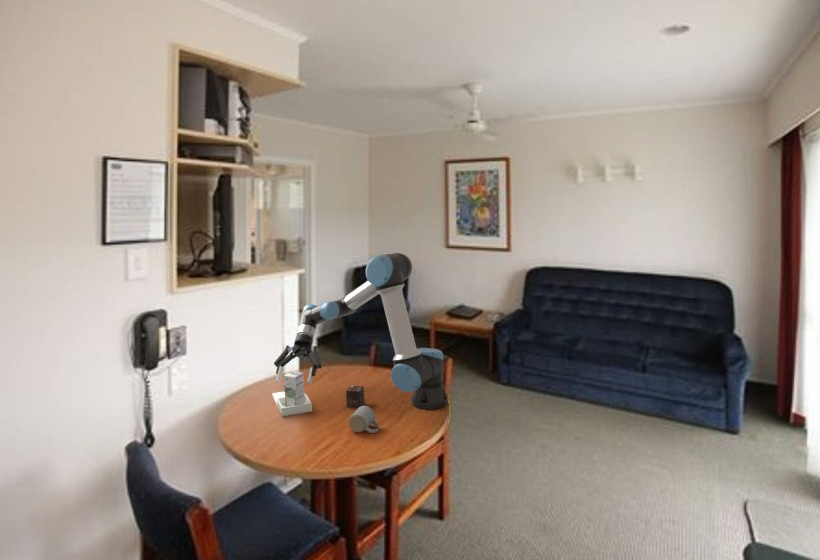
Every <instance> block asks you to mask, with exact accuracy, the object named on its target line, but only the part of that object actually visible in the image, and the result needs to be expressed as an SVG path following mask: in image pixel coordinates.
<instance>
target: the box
mask: <svg viewBox="0 0 820 560" xmlns="http://www.w3.org/2000/svg"><path fill="white" fill-rule="evenodd" d="M364 387H365V386H362V385H350V386H348V387H347V389H346V392H345V396H346V397H345V398H346V408H351V409H352V408H353V409H354V408H355V409H358V408H359V407H361V406H364V404H365V390H364V389H365V388H364Z"/></svg>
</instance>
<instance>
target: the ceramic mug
mask: <svg viewBox="0 0 820 560" xmlns="http://www.w3.org/2000/svg"><path fill="white" fill-rule="evenodd" d="M375 414H376V413H375V411H373V409H372V408H371V407H369V406H367V405H362V406H361V407H359V408H356V410H355V411H354V412H353V413H352V414H351V415H350V418H349V419H348V425H349V428H350V429H351V430H352V431H353V432H355V433H359V434H360V433H363V432H364V431H367V432H368V433H371V434H372V433H373V434H374V433H377V432H379V429H380V425H379V423H378V422H377V420H376V415H375ZM372 425H374V426H375V427H376V428H375V429H373V428H370V426H372Z"/></svg>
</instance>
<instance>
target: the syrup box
mask: <svg viewBox="0 0 820 560" xmlns="http://www.w3.org/2000/svg"><path fill="white" fill-rule="evenodd" d="M283 382H284V383H283V384H284V386H283V387H284V391H285V404H286V407H290V406H296V405H302V404H305V403H304V394H305V388H304V373H303V372H300V371H299V372H298V371H290V372H288V373H285V374H284V375H283Z"/></svg>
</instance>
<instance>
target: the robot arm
mask: <svg viewBox="0 0 820 560" xmlns="http://www.w3.org/2000/svg"><path fill="white" fill-rule="evenodd" d="M412 272H413V264H412V260H411V259H410V258H409V256H407V255H405V254H404V253H400V252H395V253H394V252H393V253H386V254H379V255H377V256H374V257H372V258H371V259H370V260H369V261H368V263H367V265H366V267H365V277H366V281H365V282H364V283H362V284H360V285H359V286H358V287H356V288H355V289H353V290H352V291H351V292H349V293H348V294H347V295H345V296H344V297H342V298H341V299H339V300H338V299H337V300H334V301H330V300H329V301H326V302H323V303H322V304H320V305H316V304H306V305H305V306H304V307H303V310H302V312H301V315H300V321H299V324H298V328H297V332H296V336H295V338H294V343H293V346H289V344H287V345H286V346H285V348H284V350H283V351H282V353H280V355H279V356H278V358H277V359H275V361H274V362H273V364H274V365H275V367H276V372H275V374H276V378H275V381H276V383H277V384H280V383H281V380H282V375H283V372H284V367H285V366H286V365H287V364H288V363H290V362H291V361H292V360H293V359H296V357H297V358H302V359H303V358H305V357H306V358H307V360H308V361H309V362H310V364H311V366H310V369H309V374H308V377H307V384H309V385H311V384H312V382H313V377H315V376H316V373H317V370H318V369H322V363H321V360H320V357H319V348H318V347H317V346H316V345H314V346H313V342H314V338H315V334H316V330H317V326H318V325H320V324H323V323H325V322H327V321H331V320H334V319H338V318H342V317H345V316H349V315H352V314H354V313H355V312H356V311H357V309H358V308H360V307H361V306H363V305H364V304H366V303H367V302H368V301H371V300H372V299H373V298H375V297H377V296H378V295H380V297H381V301H382V306H383V309H384V313H385V317H386V321H387V326H388V330H389V333H390V338H391V341H392V346H393V349H394V356H393V358H392V362H393V367H392V369H391V372H390V379H391V382H392V384H393V385H394V386H395V387H396V388H397V389H399V391H402V392H404V393H405V392H406V393H411V392H412V394H411V395H412V396H411V405H413V406H414V407H416V408H418V409H421V410H438V409H441V408H444V407H446V406H447V405H448V395H447V392H446V389H445V387H444V360H445V359H444V354H443V351H442V350H440V349H437V348H431V347H419V348H417V346H416V345H417V344H416V342H415V341H416V340H415V337H414V333H413V329H412V325H411V321H410V317H409V316H410V315H409V313H408V309H407V304H406V301H405V297H404V293H403V292H404V291H403V288H404V286H405V282H404V281H405V280H406V279H408V278H409V277H410V276H411V274H412ZM312 346H313V347H312ZM311 352H312V353H313V355H314V358H315V361H316V363H315V361H314V360H313V358H312V357H311V356H310V353H311Z"/></svg>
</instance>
